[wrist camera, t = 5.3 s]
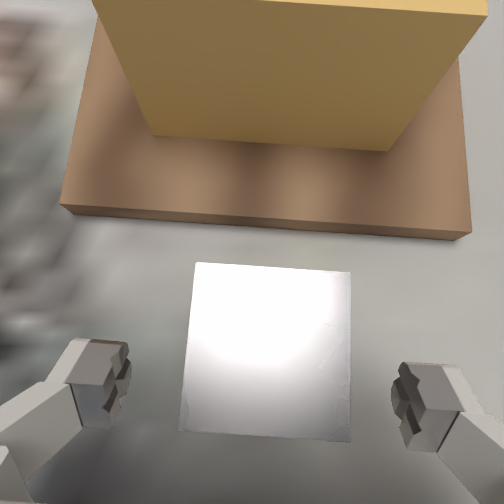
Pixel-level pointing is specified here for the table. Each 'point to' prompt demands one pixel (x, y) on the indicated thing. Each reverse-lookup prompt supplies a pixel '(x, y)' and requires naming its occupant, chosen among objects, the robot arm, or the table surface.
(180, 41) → the square hole block
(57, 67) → the table surface
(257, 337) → the square peg
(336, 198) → the base board
